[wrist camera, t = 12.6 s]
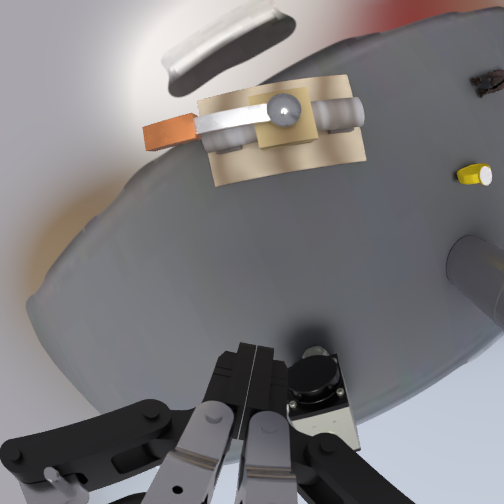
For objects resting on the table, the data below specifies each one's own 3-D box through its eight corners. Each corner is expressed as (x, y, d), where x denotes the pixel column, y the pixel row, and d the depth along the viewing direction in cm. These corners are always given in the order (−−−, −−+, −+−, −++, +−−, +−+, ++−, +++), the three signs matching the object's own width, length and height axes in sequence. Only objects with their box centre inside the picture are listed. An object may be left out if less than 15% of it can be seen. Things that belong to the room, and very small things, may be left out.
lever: (302, 125, 23) (304, 122, 21) (155, 154, 25) (146, 153, 23) (296, 96, 22) (298, 90, 21) (151, 126, 24) (142, 124, 23)
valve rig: (344, 77, 30) (366, 49, 20) (362, 160, 34) (393, 161, 24) (199, 103, 33) (171, 83, 23) (217, 185, 37) (194, 195, 26)
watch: (473, 158, 31) (496, 160, 25) (478, 174, 32) (500, 178, 26) (449, 169, 32) (472, 172, 27) (454, 186, 33) (476, 191, 27)
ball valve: (275, 333, 43) (271, 420, 26) (326, 317, 41) (347, 401, 25) (305, 400, 48) (309, 476, 31) (347, 388, 46) (363, 464, 29)
